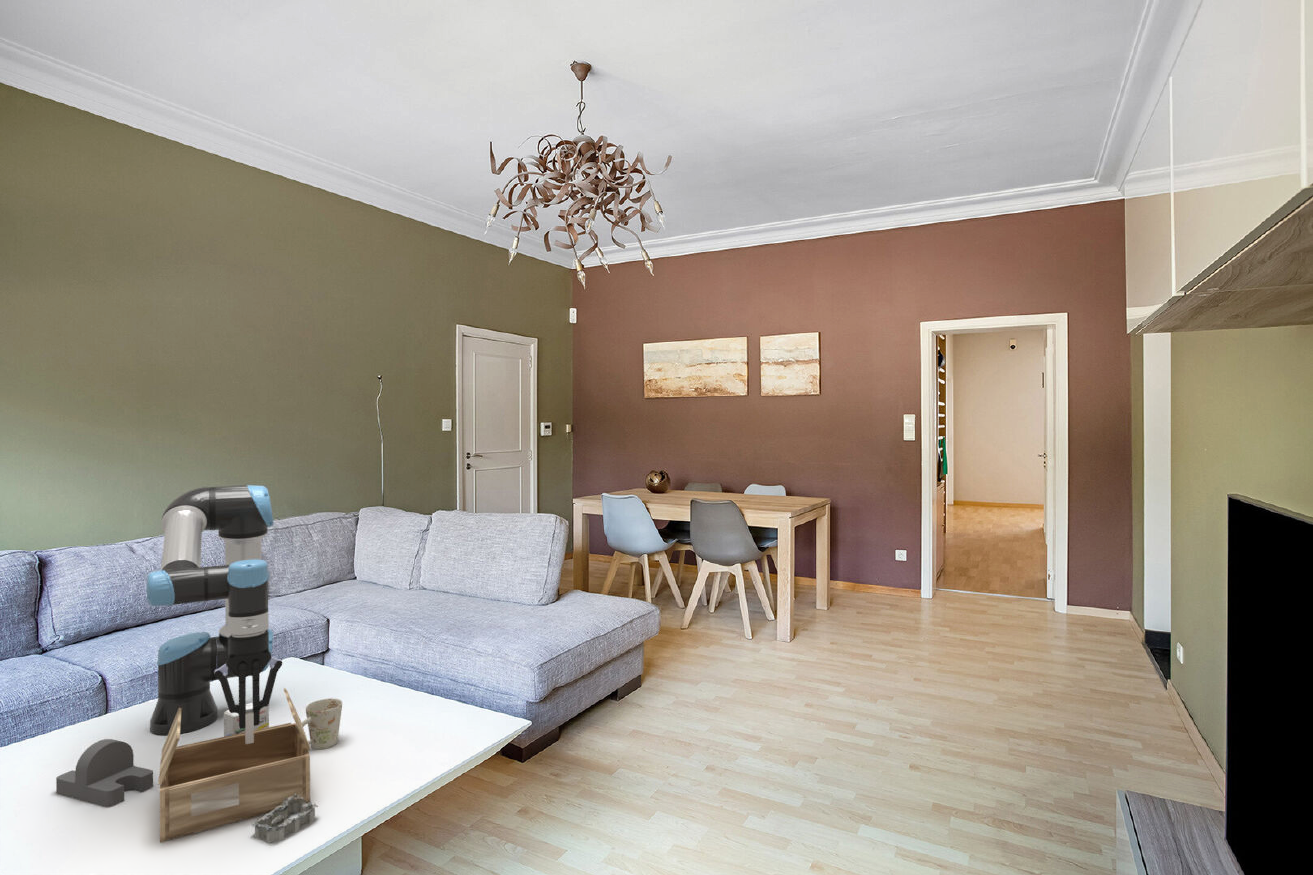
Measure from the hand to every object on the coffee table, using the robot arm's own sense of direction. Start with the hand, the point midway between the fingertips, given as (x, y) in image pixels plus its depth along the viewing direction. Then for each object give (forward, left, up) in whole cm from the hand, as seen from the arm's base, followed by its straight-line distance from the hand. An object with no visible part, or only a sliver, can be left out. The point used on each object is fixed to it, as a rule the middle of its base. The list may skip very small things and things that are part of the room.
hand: (249, 740), depth 149 cm
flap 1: (0, -14, +3) cm, 14 cm away
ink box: (-22, +1, -12) cm, 25 cm away
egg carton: (+17, +5, -13) cm, 22 cm away
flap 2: (0, +9, +3) cm, 9 cm away
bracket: (-21, -26, -13) cm, 36 cm away
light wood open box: (0, -2, -12) cm, 12 cm away
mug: (-17, +16, -12) cm, 26 cm away
